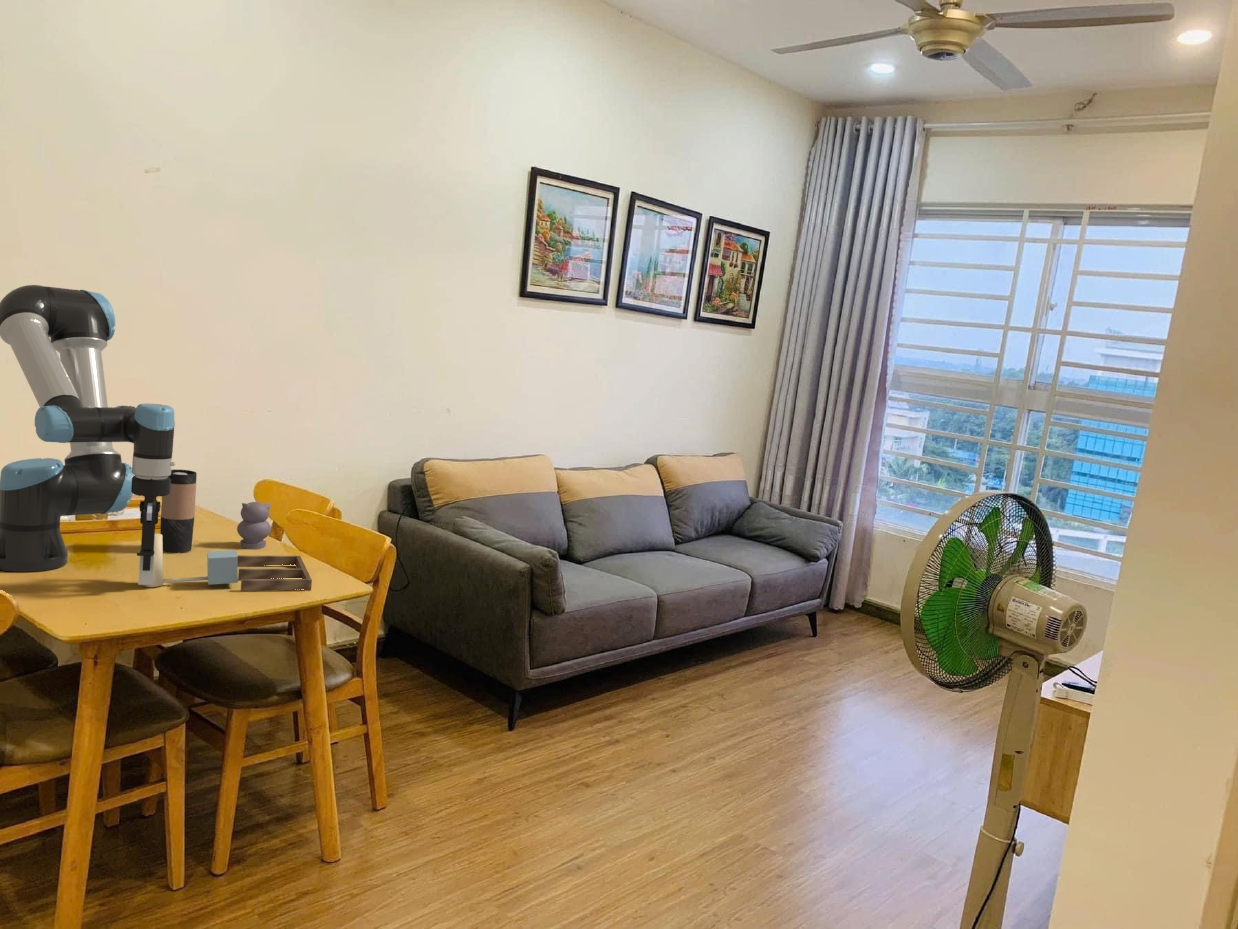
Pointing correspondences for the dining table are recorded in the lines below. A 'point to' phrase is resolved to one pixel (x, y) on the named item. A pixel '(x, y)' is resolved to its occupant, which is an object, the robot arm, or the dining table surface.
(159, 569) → the tethered block
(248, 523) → the cat figurine
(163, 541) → the travel mug
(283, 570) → the lane rack
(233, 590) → the dining table surface
